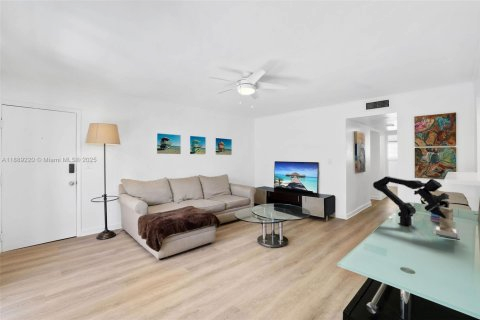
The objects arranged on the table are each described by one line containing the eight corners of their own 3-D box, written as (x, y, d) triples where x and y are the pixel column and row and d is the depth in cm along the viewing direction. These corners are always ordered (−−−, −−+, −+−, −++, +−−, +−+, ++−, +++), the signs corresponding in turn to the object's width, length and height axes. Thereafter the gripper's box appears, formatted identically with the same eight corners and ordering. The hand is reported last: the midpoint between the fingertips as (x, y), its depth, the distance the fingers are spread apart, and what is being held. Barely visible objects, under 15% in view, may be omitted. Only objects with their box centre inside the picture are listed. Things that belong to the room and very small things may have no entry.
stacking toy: (438, 220, 166) (438, 196, 166) (447, 223, 158) (447, 198, 158) (427, 220, 167) (427, 195, 166) (435, 223, 159) (435, 197, 158)
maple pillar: (439, 228, 136) (439, 207, 135) (443, 227, 138) (443, 207, 137) (449, 231, 131) (449, 209, 131) (452, 229, 133) (452, 208, 133)
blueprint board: (460, 240, 126) (460, 234, 126) (432, 235, 135) (432, 229, 135) (459, 230, 144) (459, 224, 143) (434, 226, 152) (434, 221, 152)
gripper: (430, 189, 134) (454, 211, 124) (445, 187, 142) (468, 208, 132) (415, 200, 141) (436, 221, 131) (430, 197, 149) (451, 218, 139)
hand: (449, 217), depth 133 cm, fingers open, 9 cm apart
